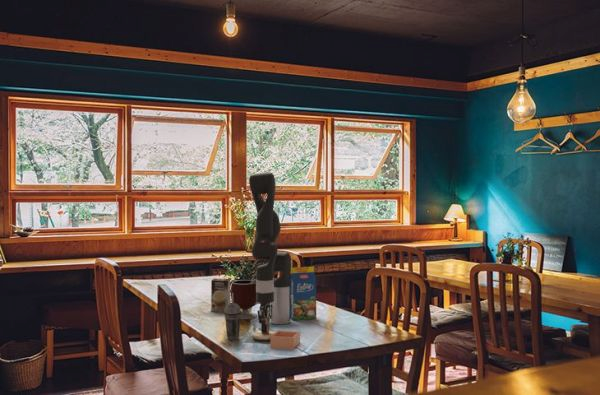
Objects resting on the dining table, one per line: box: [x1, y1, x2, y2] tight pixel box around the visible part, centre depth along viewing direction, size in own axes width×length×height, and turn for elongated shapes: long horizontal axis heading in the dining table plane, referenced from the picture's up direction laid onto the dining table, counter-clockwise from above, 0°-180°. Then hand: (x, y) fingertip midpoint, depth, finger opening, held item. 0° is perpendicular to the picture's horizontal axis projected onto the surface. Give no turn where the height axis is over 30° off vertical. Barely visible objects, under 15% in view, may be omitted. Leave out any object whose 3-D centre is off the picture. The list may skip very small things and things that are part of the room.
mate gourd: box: [230, 277, 258, 320], centre depth 294 cm, size 16×14×20 cm
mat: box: [243, 335, 270, 345], centre depth 249 cm, size 14×14×1 cm
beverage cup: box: [223, 293, 242, 341], centre depth 249 cm, size 7×7×20 cm
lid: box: [251, 319, 277, 340], centre depth 249 cm, size 11×11×7 cm
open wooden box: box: [269, 330, 301, 350], centre depth 239 cm, size 10×10×5 cm
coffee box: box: [210, 278, 231, 312], centre depth 309 cm, size 9×6×16 cm
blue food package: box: [290, 266, 317, 321], centre depth 290 cm, size 6×12×25 cm, turn 111°
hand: (265, 331), depth 249 cm, fingers closed on lid, 3 cm apart
